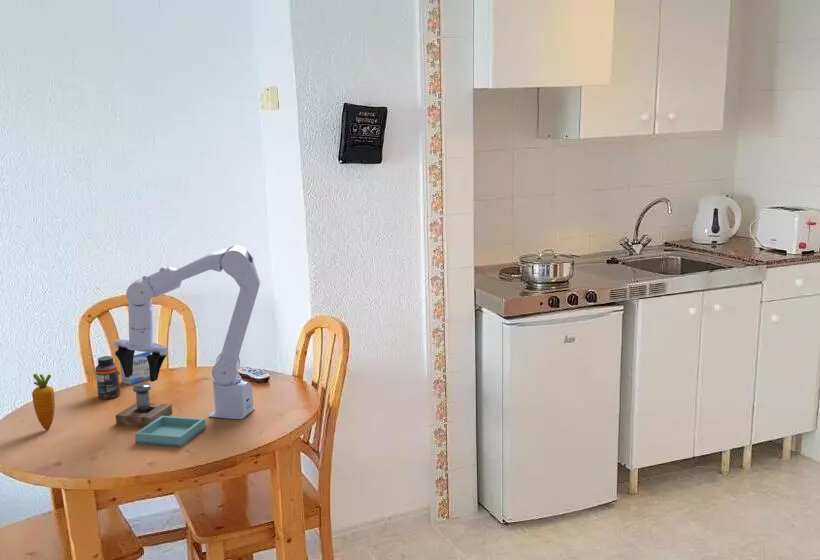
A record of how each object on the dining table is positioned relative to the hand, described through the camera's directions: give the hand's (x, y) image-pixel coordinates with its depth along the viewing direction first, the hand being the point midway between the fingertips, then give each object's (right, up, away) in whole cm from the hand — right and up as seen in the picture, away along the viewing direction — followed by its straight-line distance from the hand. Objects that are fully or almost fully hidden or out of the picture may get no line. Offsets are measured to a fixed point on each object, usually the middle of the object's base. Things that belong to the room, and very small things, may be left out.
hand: (141, 378), depth 206 cm
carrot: (-22, -13, -5) cm, 26 cm away
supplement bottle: (-16, -8, +20) cm, 27 cm away
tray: (+11, -13, -10) cm, 19 cm away
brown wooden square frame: (0, -11, +2) cm, 11 cm away
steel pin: (0, -11, +2) cm, 11 cm away
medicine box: (-12, -5, +33) cm, 36 cm away
